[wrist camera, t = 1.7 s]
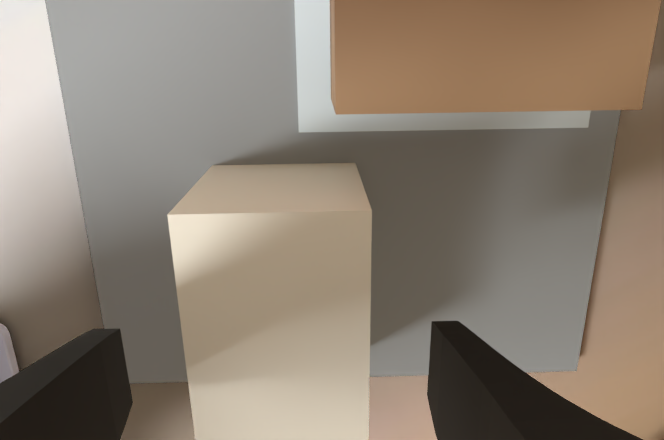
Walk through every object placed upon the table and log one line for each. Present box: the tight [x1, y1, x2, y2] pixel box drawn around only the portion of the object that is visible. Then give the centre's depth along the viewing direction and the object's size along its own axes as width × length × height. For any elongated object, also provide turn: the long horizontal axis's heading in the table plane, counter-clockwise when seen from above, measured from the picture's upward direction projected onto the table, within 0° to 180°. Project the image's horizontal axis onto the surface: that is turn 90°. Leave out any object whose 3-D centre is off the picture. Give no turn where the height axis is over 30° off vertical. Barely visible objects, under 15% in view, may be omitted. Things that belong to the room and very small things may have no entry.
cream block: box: [167, 163, 372, 440], centre depth 15 cm, size 7×4×5 cm, turn 1°
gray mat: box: [45, 0, 621, 384], centre depth 16 cm, size 18×17×1 cm
